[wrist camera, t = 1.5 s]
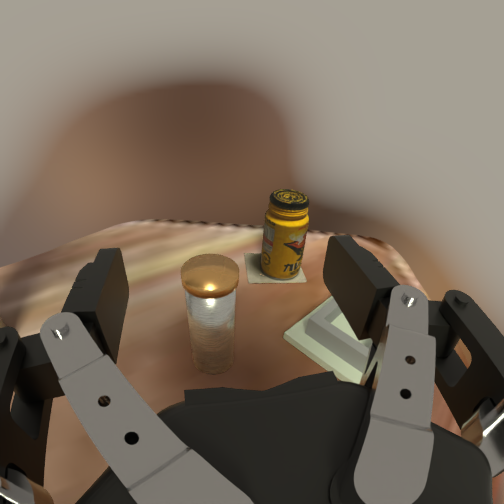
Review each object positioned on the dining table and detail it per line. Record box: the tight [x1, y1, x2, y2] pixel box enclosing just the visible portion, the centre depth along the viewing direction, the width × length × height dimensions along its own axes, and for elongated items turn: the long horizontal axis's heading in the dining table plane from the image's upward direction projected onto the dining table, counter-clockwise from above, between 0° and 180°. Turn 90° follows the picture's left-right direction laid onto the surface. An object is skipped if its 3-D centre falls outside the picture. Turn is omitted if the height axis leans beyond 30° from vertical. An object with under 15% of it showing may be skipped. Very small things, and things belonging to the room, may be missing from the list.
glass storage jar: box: [181, 254, 239, 375], centre depth 28 cm, size 5×5×12 cm
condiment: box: [244, 189, 309, 283], centre depth 43 cm, size 7×8×12 cm
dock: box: [283, 296, 372, 384], centre depth 34 cm, size 12×12×4 cm
